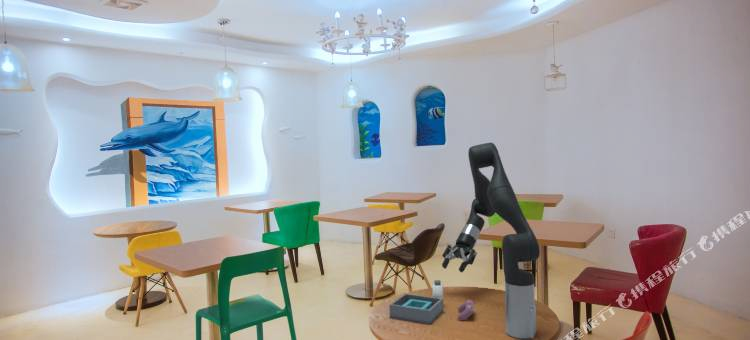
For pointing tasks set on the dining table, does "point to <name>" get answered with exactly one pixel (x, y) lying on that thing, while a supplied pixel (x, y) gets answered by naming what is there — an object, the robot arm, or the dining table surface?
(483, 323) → the dining table surface
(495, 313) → the dining table surface
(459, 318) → the video game controller
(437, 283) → the plug
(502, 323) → the dining table surface
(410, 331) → the dining table surface
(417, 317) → the walled box
